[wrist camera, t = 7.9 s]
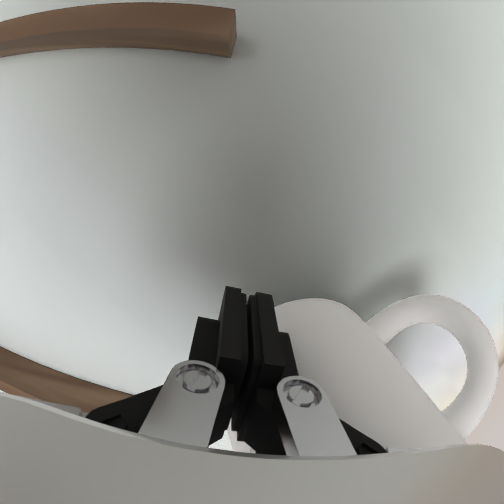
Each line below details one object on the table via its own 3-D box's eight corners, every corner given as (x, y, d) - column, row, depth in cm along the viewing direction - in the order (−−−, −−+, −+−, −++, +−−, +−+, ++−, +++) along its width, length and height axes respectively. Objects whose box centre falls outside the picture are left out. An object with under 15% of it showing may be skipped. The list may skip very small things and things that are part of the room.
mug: (374, 201, 13) (576, 338, 4) (420, 300, 17) (533, 409, 8) (176, 368, 14) (224, 580, 5) (273, 419, 18) (334, 554, 9)
